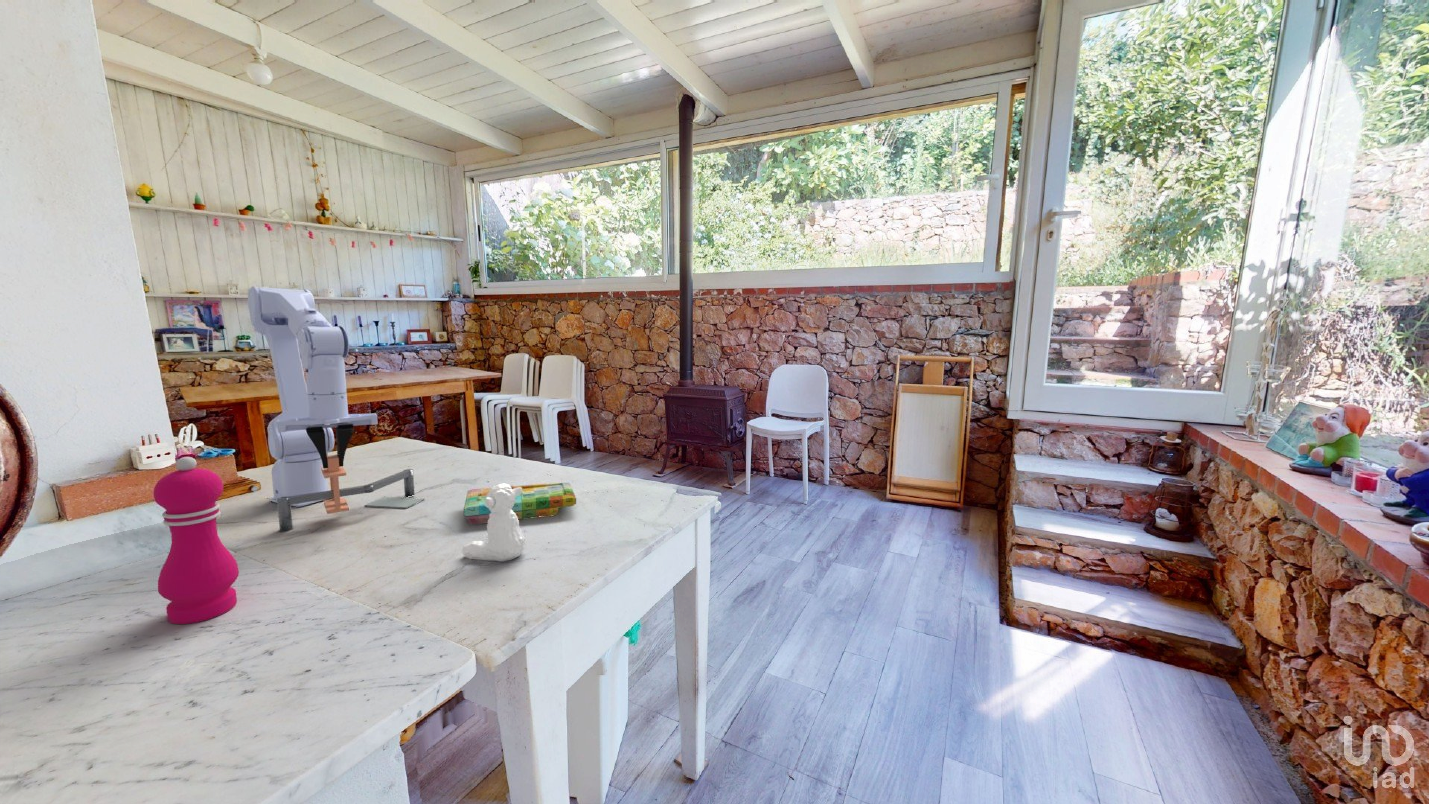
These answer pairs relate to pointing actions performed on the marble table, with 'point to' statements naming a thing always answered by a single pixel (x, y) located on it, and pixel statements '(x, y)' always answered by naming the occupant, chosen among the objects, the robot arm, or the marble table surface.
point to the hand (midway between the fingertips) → (333, 466)
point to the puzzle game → (522, 501)
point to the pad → (393, 502)
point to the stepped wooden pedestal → (334, 485)
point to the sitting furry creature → (499, 528)
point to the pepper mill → (194, 546)
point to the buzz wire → (286, 502)
